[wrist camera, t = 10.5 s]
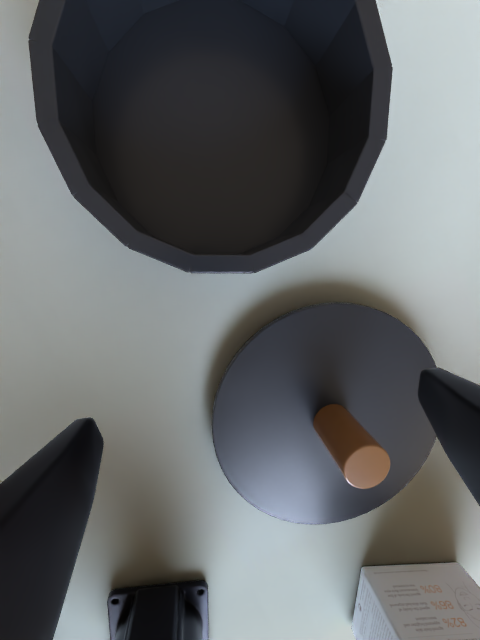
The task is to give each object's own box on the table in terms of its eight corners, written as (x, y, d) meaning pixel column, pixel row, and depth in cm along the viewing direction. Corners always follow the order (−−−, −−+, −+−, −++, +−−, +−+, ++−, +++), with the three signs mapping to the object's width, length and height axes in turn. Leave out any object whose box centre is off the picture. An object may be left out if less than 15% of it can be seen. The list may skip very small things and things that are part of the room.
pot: (332, 268, 20) (375, 273, 15) (91, 267, 18) (51, 273, 13) (348, -1, 17) (407, -103, 12) (68, -29, 15) (7, -159, 11)
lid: (418, 503, 24) (483, 577, 18) (212, 520, 22) (216, 608, 17) (444, 299, 21) (530, 316, 15) (210, 302, 19) (214, 321, 14)
